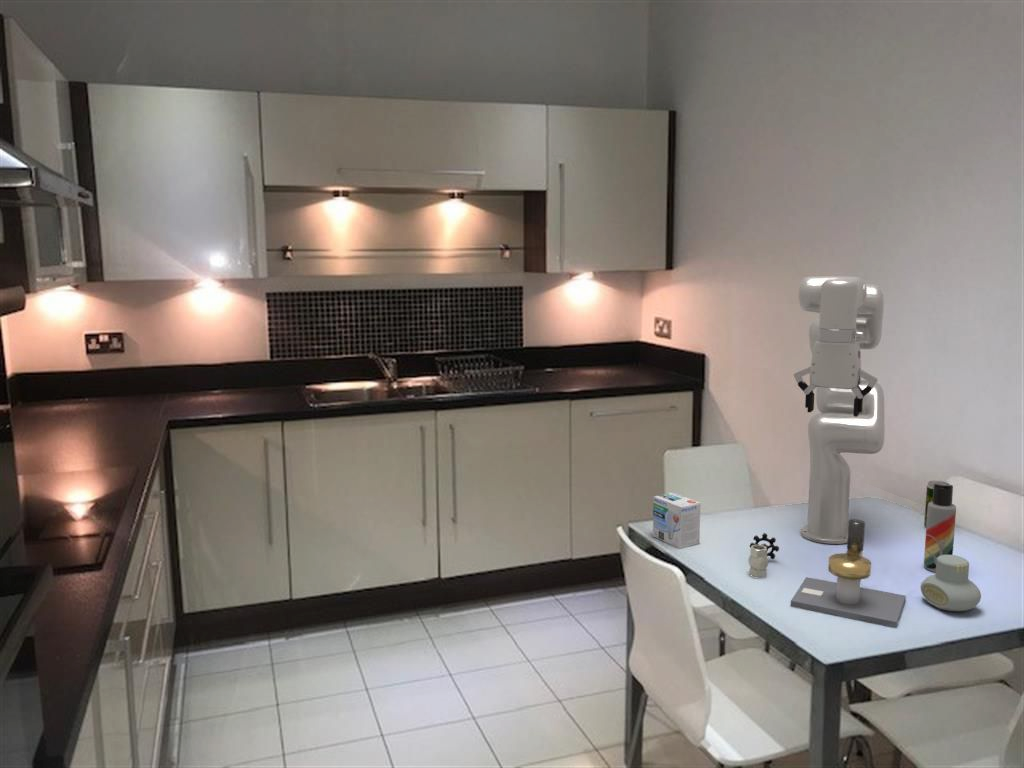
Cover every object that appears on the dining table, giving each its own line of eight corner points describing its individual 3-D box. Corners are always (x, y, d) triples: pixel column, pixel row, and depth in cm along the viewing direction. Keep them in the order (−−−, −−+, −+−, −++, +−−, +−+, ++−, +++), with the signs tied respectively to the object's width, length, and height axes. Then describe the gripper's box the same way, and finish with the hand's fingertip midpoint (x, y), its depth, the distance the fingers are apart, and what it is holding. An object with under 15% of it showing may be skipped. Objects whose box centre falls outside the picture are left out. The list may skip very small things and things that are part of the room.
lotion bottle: (924, 571, 192) (930, 486, 188) (922, 562, 197) (928, 479, 193) (953, 574, 190) (959, 488, 186) (949, 565, 195) (956, 481, 192)
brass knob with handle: (875, 558, 181) (878, 522, 179) (867, 582, 169) (870, 543, 167) (836, 552, 184) (837, 516, 183) (825, 575, 173) (827, 536, 171)
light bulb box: (651, 536, 217) (652, 495, 215) (671, 531, 220) (672, 491, 218) (680, 549, 208) (680, 506, 206) (700, 544, 211) (701, 502, 209)
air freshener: (987, 613, 171) (991, 565, 169) (956, 620, 168) (960, 572, 166) (942, 592, 181) (946, 547, 179) (912, 598, 178) (915, 553, 176)
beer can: (938, 524, 222) (941, 479, 220) (951, 531, 217) (955, 485, 215) (919, 525, 221) (922, 481, 219) (932, 532, 216) (936, 487, 214)
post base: (806, 582, 187) (807, 551, 186) (905, 601, 177) (907, 569, 176) (790, 606, 175) (791, 574, 174) (896, 627, 165) (898, 593, 164)
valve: (771, 580, 188) (778, 561, 199) (772, 552, 187) (779, 534, 198) (741, 576, 191) (749, 557, 202) (742, 548, 190) (750, 531, 201)
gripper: (882, 336, 184) (877, 413, 187) (799, 332, 193) (796, 406, 196) (876, 340, 178) (872, 420, 181) (792, 336, 186) (788, 412, 189)
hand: (833, 413), depth 188 cm, fingers open, 9 cm apart
